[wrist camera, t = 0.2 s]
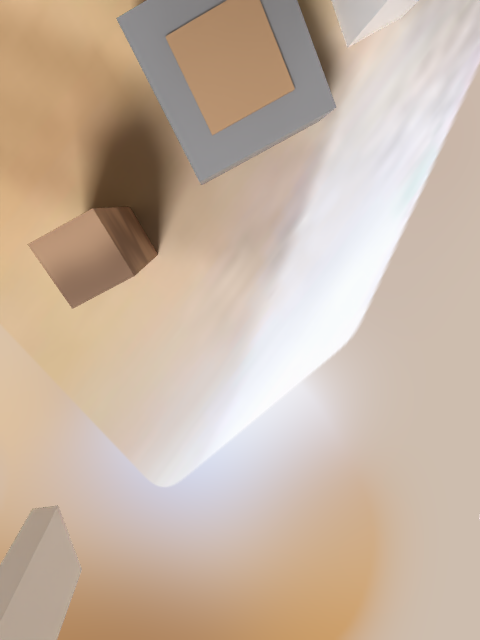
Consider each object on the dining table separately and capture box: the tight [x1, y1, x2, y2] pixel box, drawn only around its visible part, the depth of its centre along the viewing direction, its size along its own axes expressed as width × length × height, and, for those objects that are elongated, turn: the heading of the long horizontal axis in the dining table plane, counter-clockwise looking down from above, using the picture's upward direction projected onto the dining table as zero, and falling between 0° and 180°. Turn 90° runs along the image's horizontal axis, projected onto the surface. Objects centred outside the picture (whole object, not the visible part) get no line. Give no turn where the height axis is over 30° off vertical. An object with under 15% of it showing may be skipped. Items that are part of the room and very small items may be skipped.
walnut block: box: [28, 207, 158, 309], centre depth 30 cm, size 5×5×11 cm
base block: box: [116, 0, 336, 185], centre depth 29 cm, size 12×12×5 cm
